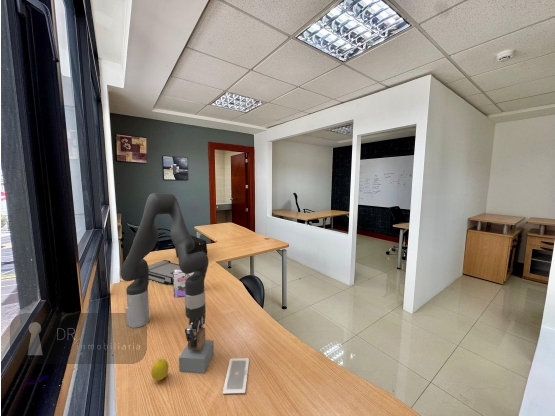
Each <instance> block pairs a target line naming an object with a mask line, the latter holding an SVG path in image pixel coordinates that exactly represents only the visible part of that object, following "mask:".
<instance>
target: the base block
mask: <svg viewBox="0 0 555 416" xmlns="http://www.w3.org/2000/svg"><path fill="white" fill-rule="evenodd" d="M214 345H215V343H214V340H211V339H205V343H204V345H203V347H202V349H201V350H188V343H187V344H186V345H185V347H184V349H183V350H182V352H181V353H180V354H179V357H178V371H179V373H180V372H181V373H196V374H205V373H206V371H207V369H208V367H209V365H210V363H211V360H212V358H213V356H214V353H215V349H214V348H215V346H214Z"/></svg>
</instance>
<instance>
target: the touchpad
mask: <svg viewBox="0 0 555 416" xmlns="http://www.w3.org/2000/svg"><path fill="white" fill-rule="evenodd" d="M249 363H250V358H248V357H247V358H230V359H229V362H228V366H227V372H226V375H225V381H224V385H223V389H222V394H245V393H246V389H247V388H246V387H247V382H248V381H247V379H248V371H249Z"/></svg>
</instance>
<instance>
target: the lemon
mask: <svg viewBox="0 0 555 416" xmlns="http://www.w3.org/2000/svg"><path fill="white" fill-rule="evenodd" d="M168 372H169V363H168V361H167V359H165V358H158V359H157V360H156V361H154V362H153V364H152V367H151V372H150V373H151V378H152V379H153V380H155V381H161V380H163V379H164V378H166V377H167V375H168Z"/></svg>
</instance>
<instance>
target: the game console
mask: <svg viewBox="0 0 555 416" xmlns="http://www.w3.org/2000/svg"><path fill="white" fill-rule="evenodd" d="M148 268H149V281H150V280H152V281H151V282H154V281H155V283H157V282H158V284H161V285H165V286H169V285H171V284H173V273H174V270H180V267H179V263H173V262H171V260H167V259H163V260H160V261H157V262H154V263H152V264H148Z"/></svg>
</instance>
